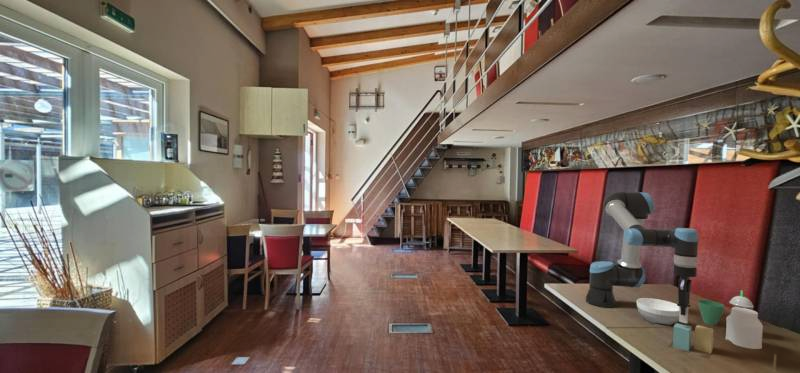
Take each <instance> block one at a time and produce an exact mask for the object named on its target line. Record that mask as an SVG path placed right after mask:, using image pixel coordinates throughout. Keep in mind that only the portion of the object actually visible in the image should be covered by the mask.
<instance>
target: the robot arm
mask: <svg viewBox="0 0 800 373" xmlns="http://www.w3.org/2000/svg"><path fill="white" fill-rule="evenodd" d="M602 206H603V209H604V212H605V213H606V214H607V215H608V216H610V217H612V218H613V219H614V221H615V222H616V223H617V224H618V225H619V226H620V228H621V229H622V230H623V237H622V246H621V254H620V259H618V260H617V261H616V264H614V263H613V262H611V261H605V260H601V261H593V262H591V263H590V267H589V287H588V291H587V293H586V295H585V302H586V303H587V304H590V305H592V306H596V307H601V308H614V307H616V306H617V300H616V298H615V295H614V290H613V289H614V288H613V287H624V288H625V287H626V288H639V287H641V286H643V284H644V283H645V280H646V271H645V268H644V267H643V266H642V263H640V254H641V247H656V248H657V247H660V248H661V247H662V248H673V249H674V252H673V253H674V254H673V263H674V265H673V273H674V275H676V276H679V277H678V279H677V283H678V284H677V289H678V290H677V292H678V293H677V294H678V304H677V303H676V304H677V306H679V321H678V322H679V323H684V324H688V323H689V308H691V304H690V295H691V287H692V286H691V284H692V280H691V278H695V277H697V275H698V274H697V272H698V268H697V267H698V266H697V264H698V262H700V259H698V248H699V246H698V245H699V233H698V230H697V229H695V228H688V227H687V228H686V227H676V228H675V229H672V228H671V229H669V228H665V229H664V228H663V229H653V228H652V229H650V228H645V227H644V224H645V221H646V220H648V218H649V215H652V214H653V212H654V211H655V203H654V200H653V197H652V195H650V194H649V193H648V192H640V191H615V192H612V193H610V194H609V195H607V196H606V197H605V198H604V199H603V204H602Z"/></svg>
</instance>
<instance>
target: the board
mask: <svg viewBox="0 0 800 373" xmlns="http://www.w3.org/2000/svg"><path fill="white" fill-rule="evenodd" d="M694 345H695V343H692V342H691V348H690V350H689V351H686V350H682V349H679V348H675V347H673V340H671V343H670V344H669V345H668V348H671V349H674V350H678V351H682V352H685V353H688V354H692V355H695V356H697V357H698V356H699V357H702V358H706V359H710V358H711V355H712V353H713V350H714V349H713V350H712V352H711V353H707V352H704V351H700V350H696V349H694Z"/></svg>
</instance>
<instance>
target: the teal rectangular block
mask: <svg viewBox="0 0 800 373" xmlns="http://www.w3.org/2000/svg"><path fill="white" fill-rule="evenodd" d="M692 329H693V328H692V326H690V325H685V324H681V323H678V322H676V323H674V325H673V330H672V331H673V332H672V334H673V335H672V336H673V338H672V341H673V347H675V348H679V349H682V350H686V351H689V350H690V348H691V343H692V331H693V330H692Z"/></svg>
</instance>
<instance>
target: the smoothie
mask: <svg viewBox="0 0 800 373" xmlns="http://www.w3.org/2000/svg"><path fill="white" fill-rule="evenodd" d="M743 294H744V292H743V290H742V289H741V290H740V295H736V296H734V297H732V298H731V299H730V300H729V301H728V303H729V315H730V314H731V312H732V308H733V307H740V308H746V309H750V310H753V311H754V304H753V302H752V301H751V300H750V299H749V298H748V297H746V296H743Z"/></svg>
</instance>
